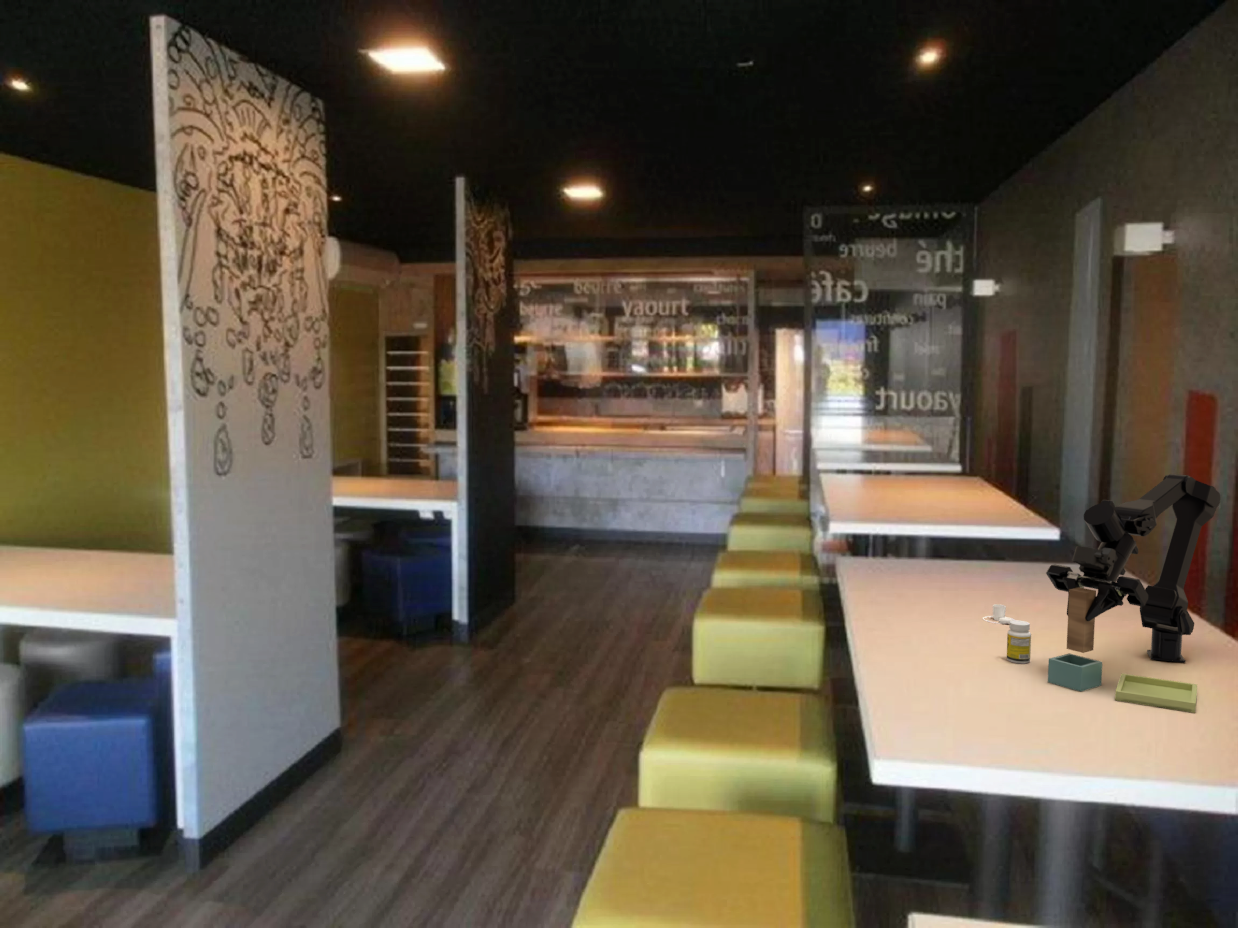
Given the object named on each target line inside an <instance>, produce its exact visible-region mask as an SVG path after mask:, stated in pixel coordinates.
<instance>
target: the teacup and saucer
mask: <svg viewBox="0 0 1238 928" xmlns="http://www.w3.org/2000/svg"><path fill="white" fill-rule="evenodd" d="M1006 611H1007V606H1006V605H1004V604H1001V603H999V604H996V603H995V604H992V615H986V616H983V617H982V620H983V621H985V622H987V623H992V624H999V625H1010V621H1013V620H1016V619H1014V618H1013V617H1008V616H1006ZM987 617H989V618H993V621H992V620H988V618H987ZM984 618H987V620H985V619H984ZM997 621H998V622H997Z"/></svg>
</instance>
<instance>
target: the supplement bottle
mask: <svg viewBox="0 0 1238 928" xmlns="http://www.w3.org/2000/svg"><path fill="white" fill-rule="evenodd" d="M1008 625H1009V629H1008V630H1007V633H1006V634H1007V635H1006V636H1007V639H1006V640H1007V641H1006V660H1007V661H1008V662H1010V663H1014V664H1021V665H1022V664H1029V663H1030V662H1031V654H1032V653H1031V647H1032V634H1031V632H1030V627H1031V626H1030V625H1031V623H1030V622H1028V621H1026V620H1017V619H1015V620H1013V621H1010V624H1008Z"/></svg>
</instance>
